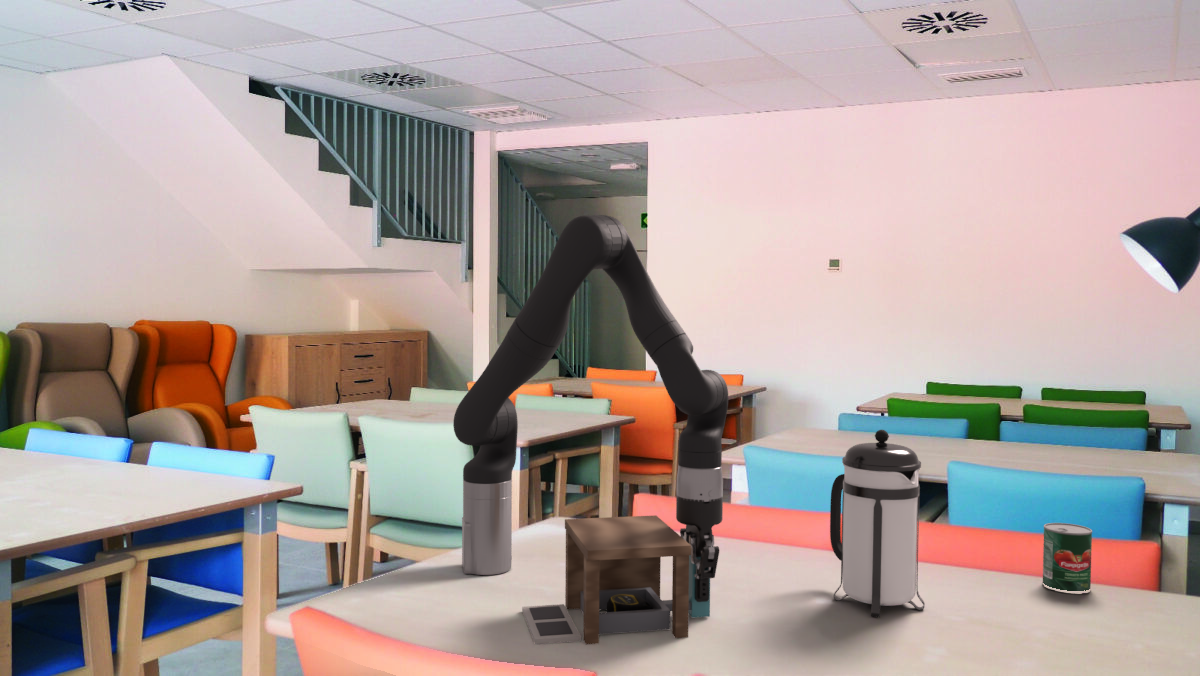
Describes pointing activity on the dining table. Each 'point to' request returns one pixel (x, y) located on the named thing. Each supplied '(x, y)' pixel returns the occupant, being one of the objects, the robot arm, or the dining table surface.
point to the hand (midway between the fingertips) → (698, 597)
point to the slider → (645, 618)
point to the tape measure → (627, 603)
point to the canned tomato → (1067, 556)
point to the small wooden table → (623, 565)
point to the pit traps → (550, 624)
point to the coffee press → (877, 523)
